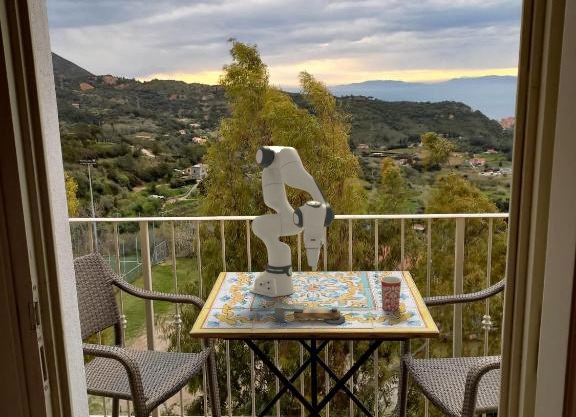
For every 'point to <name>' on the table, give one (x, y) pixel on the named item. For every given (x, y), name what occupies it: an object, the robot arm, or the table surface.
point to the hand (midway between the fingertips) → (314, 270)
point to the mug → (390, 293)
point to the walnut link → (318, 314)
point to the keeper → (285, 310)
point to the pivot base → (338, 321)
